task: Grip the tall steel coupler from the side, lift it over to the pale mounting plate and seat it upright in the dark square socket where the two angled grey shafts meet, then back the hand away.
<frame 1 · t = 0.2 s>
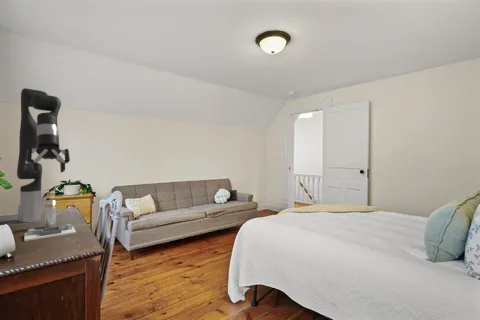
hand: (49, 172, 103), 31 cm above the table, tool tilted 20°, fingers open, 8 cm apart
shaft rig: (50, 234, 118), on the table
coupler: (50, 227, 129), on the table
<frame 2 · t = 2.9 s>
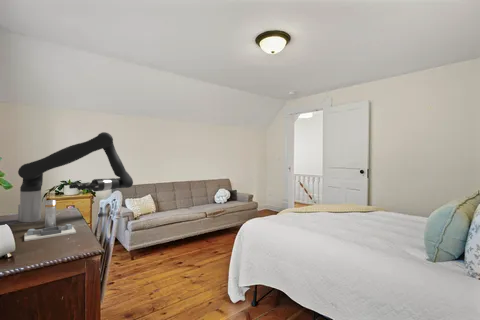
hand: (73, 187, 139), 20 cm above the table, tool horizontal, fingers open, 8 cm apart
nothing on the table moved.
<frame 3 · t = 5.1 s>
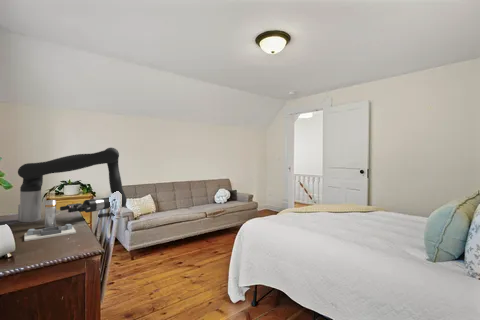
hand: (64, 209, 135), 8 cm above the table, tool horizontal, fingers open, 8 cm apart
nothing on the table moved.
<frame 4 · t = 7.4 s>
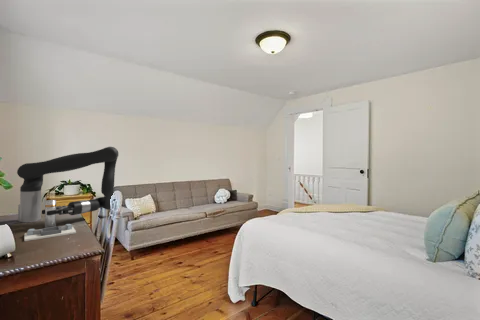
hand: (44, 212, 127), 8 cm above the table, tool horizontal, fingers closed on coupler, 4 cm apart
coupler: (50, 227, 129), on the table, touching gripper
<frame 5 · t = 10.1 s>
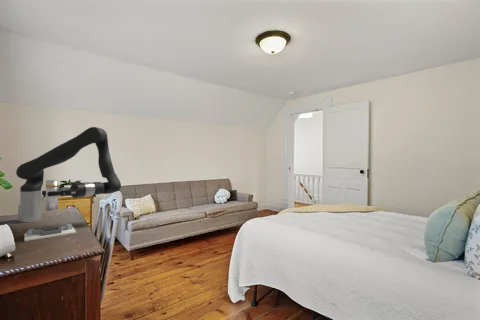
hand: (45, 193, 115), 20 cm above the table, tool horizontal, fingers closed on coupler, 4 cm apart
coupler: (51, 209, 118), point 12 cm above the table, touching gripper
when the fingers open (9 cm above the table, at t = 13.0 s): coupler stays where it is, resting on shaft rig.
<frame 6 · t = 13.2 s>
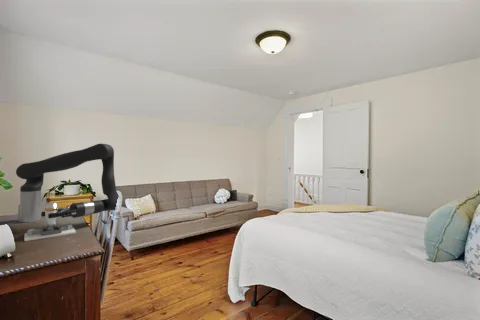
hand: (45, 215, 115), 10 cm above the table, tool horizontal, fingers open, 6 cm apart
coupler: (51, 232, 118), point 1 cm above the table, touching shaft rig
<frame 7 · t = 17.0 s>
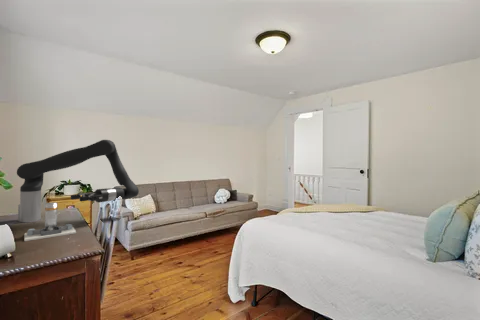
hand: (75, 198, 127), 16 cm above the table, tool horizontal, fingers open, 8 cm apart
nothing on the table moved.
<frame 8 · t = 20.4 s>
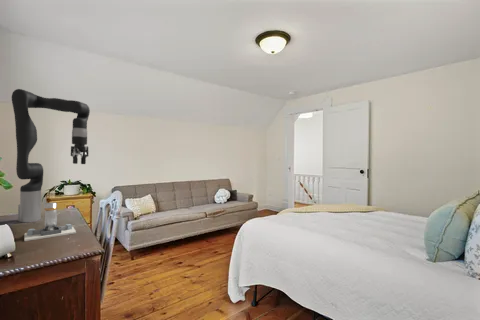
hand: (79, 163, 144), 33 cm above the table, tool pointing down, fingers open, 8 cm apart
nothing on the table moved.
at the end: coupler 0.1 cm off-centre on the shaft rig, point 0.9 cm above the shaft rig's base; coupler tilted 1°; the gripper is holding nothing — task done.
